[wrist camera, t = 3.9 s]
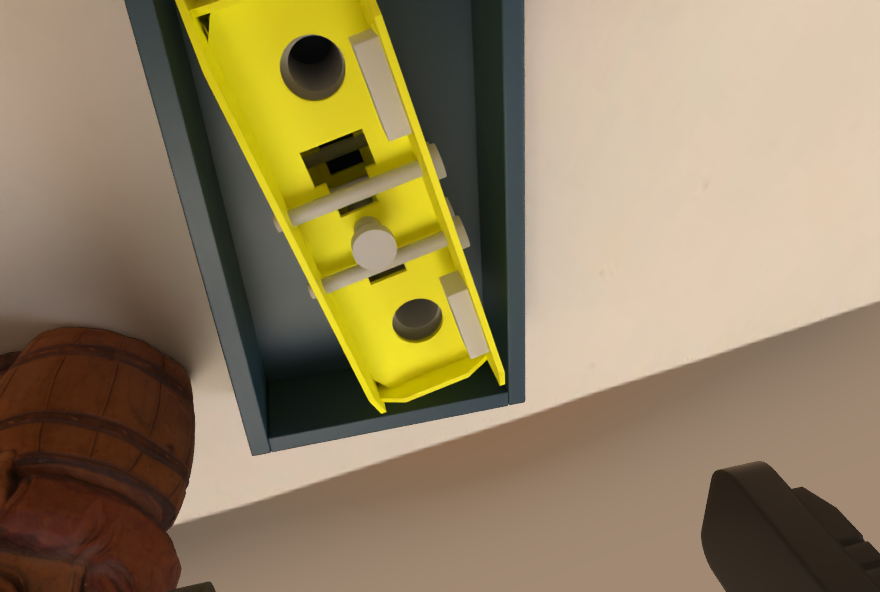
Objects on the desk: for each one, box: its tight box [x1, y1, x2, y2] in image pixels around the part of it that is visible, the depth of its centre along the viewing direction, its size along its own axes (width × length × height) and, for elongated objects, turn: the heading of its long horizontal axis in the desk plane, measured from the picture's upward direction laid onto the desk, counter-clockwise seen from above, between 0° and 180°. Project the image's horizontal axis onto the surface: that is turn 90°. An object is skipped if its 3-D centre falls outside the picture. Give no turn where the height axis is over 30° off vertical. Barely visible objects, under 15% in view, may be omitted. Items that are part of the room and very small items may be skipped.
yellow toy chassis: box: [175, 0, 505, 414], centre depth 24 cm, size 16×6×8 cm, turn 18°
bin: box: [124, 0, 525, 456], centre depth 26 cm, size 12×22×4 cm, turn 4°
